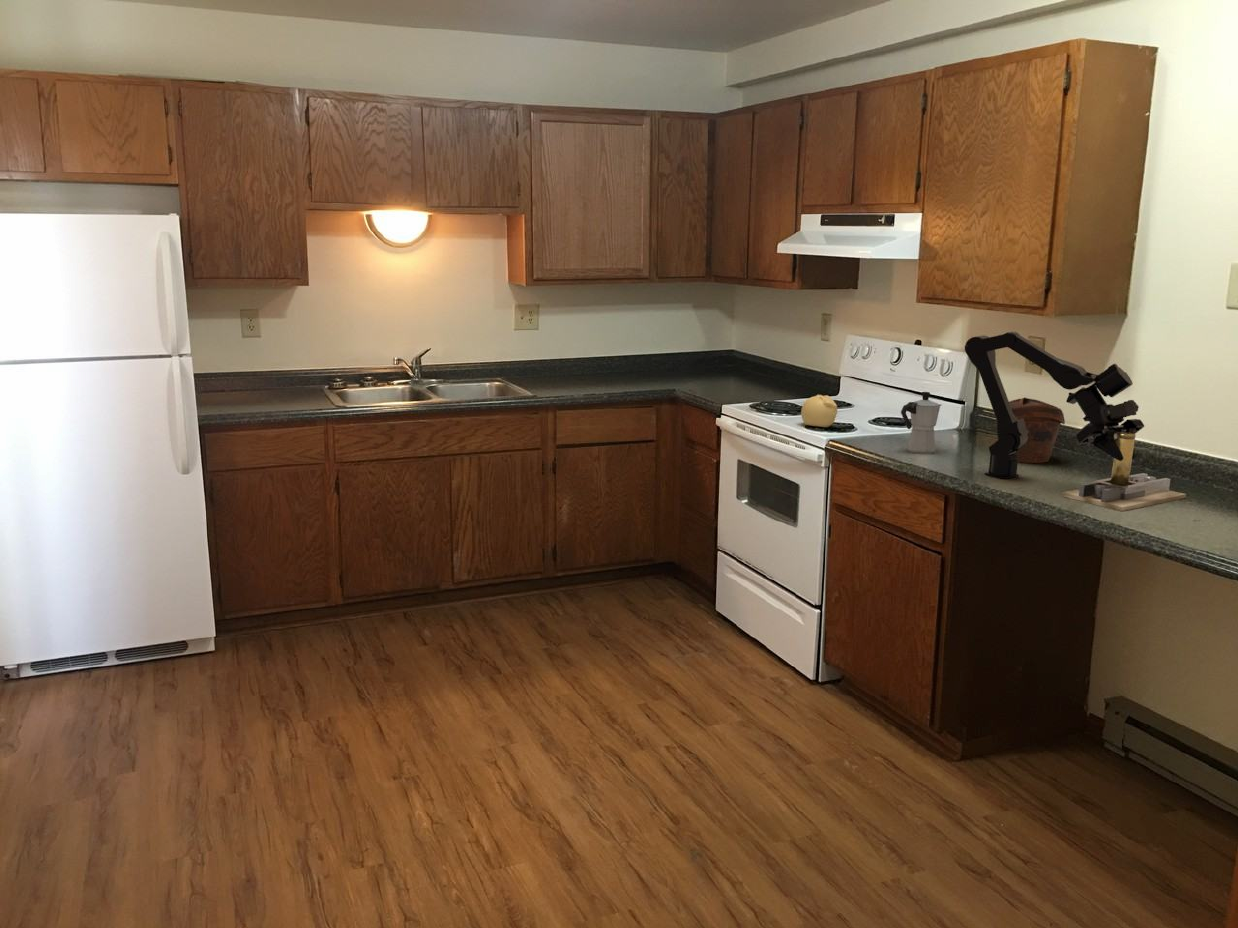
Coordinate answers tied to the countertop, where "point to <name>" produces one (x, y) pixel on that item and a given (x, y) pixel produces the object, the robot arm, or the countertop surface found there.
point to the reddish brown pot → (1037, 428)
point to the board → (1129, 503)
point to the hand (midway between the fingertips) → (1127, 459)
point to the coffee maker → (921, 424)
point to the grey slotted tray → (1124, 488)
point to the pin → (1123, 467)
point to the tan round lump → (819, 411)
